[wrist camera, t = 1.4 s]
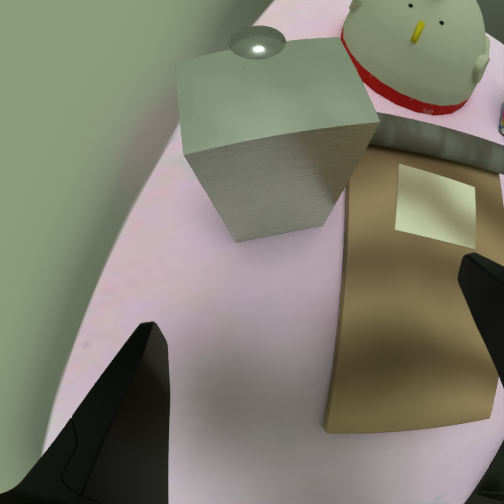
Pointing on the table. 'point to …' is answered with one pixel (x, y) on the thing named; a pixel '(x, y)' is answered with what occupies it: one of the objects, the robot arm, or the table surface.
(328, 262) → the table surface
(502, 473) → the phone stand
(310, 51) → the brushed steel block
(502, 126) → the ink cartridge box
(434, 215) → the walnut base leaf
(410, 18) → the kitchen timer
